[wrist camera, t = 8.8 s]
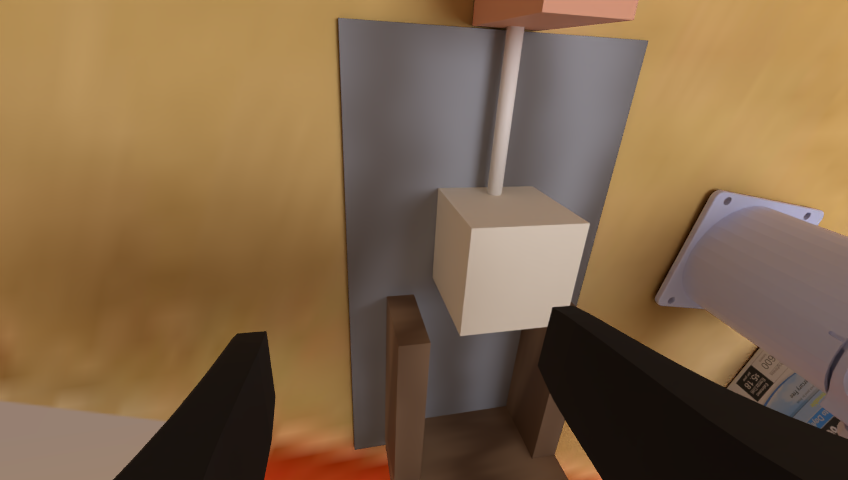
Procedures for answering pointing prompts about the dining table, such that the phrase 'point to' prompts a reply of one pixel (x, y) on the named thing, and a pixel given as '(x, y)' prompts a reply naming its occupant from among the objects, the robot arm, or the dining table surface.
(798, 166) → the dining table surface
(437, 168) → the panel
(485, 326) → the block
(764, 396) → the light bulb box
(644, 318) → the dining table surface
